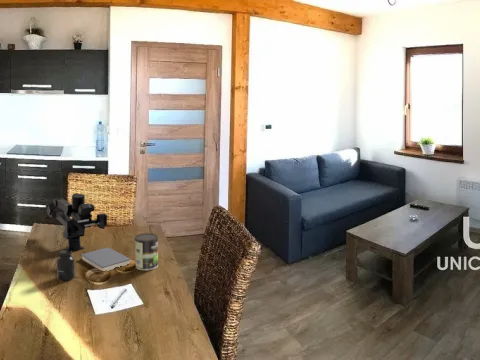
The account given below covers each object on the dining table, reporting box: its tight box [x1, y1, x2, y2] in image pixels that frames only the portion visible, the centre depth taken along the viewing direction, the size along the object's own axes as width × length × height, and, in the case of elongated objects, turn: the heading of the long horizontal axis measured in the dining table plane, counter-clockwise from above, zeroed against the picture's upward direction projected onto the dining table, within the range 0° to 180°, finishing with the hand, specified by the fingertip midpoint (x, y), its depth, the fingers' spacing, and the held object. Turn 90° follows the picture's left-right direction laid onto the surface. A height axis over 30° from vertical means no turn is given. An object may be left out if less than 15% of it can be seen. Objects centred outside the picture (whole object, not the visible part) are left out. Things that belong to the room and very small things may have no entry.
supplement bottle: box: [56, 249, 76, 282], centre depth 176 cm, size 7×7×12 cm
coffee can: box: [134, 233, 159, 271], centre depth 191 cm, size 10×10×14 cm
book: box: [80, 246, 131, 272], centre depth 195 cm, size 20×14×3 cm
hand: (94, 229), depth 188 cm, fingers open, 9 cm apart
